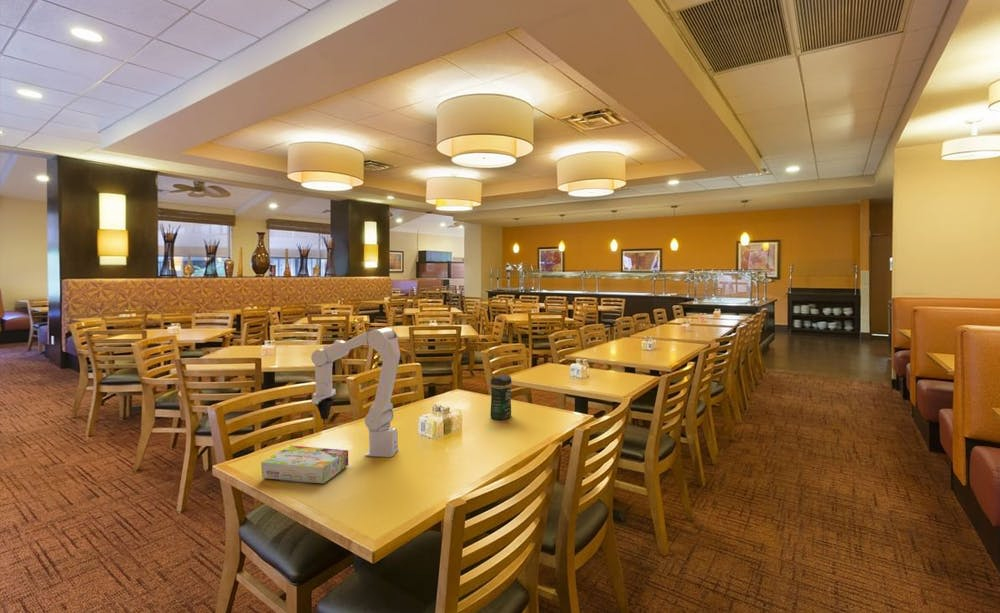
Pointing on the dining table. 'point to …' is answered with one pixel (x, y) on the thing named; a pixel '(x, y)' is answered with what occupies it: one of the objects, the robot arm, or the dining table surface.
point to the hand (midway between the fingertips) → (324, 418)
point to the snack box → (305, 464)
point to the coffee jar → (501, 397)
